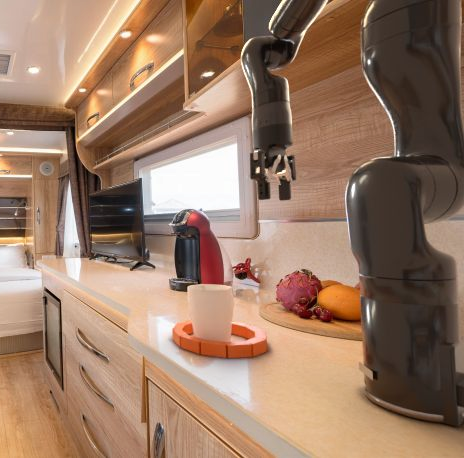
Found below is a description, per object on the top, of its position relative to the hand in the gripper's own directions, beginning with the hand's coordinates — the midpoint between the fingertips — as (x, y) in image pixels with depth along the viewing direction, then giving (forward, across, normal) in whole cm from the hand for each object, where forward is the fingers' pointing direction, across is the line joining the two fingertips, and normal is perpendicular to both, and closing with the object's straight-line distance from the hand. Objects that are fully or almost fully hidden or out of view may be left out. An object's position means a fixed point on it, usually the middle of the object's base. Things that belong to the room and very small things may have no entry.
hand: (275, 200), depth 73 cm
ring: (+30, -14, +6) cm, 34 cm away
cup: (+30, -16, +6) cm, 35 cm away
